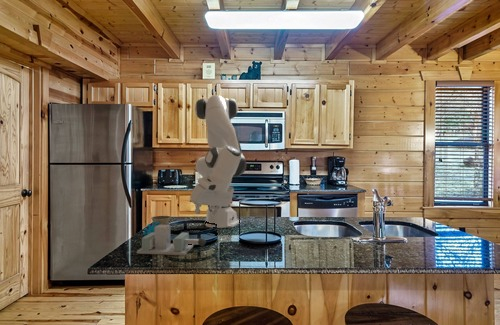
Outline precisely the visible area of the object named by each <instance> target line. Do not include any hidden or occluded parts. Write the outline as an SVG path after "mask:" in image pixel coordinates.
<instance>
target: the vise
mask: <svg viewBox="0 0 500 325" xmlns="http://www.w3.org/2000/svg"><path fill="white" fill-rule="evenodd" d="M144 236H145V235H144ZM144 236H143V237H142V238H141V247H140V248H139V249H137V250H136V254H140V255H141V254H142V255H169V256H186V255H187V254H188V253H189V252H190V251H191V250H192V249H193V247H194V245H187V246H186V247H185V248H184V249H183V250H182V251H174V249H173V243H171V246H170V247H169V248H167V249H155V232H151V233H150V234H148V235H147V234H146V236H145V237H144Z"/></svg>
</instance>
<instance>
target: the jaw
mask: <svg viewBox="0 0 500 325" xmlns="http://www.w3.org/2000/svg"><path fill="white" fill-rule="evenodd" d="M206 242H207V241H206V239H205V238H204V237H203V238H202V237H200V238H190V234H189V232H180V233H179V234H178V235H177V236H175V238H173V240H172V244H173V249H174V251H182V250H183V249H184V248H185V247H186V246H187V245H188V244H192V245H193V246H195V245H199V246H200V247H203V246H205V244H206Z"/></svg>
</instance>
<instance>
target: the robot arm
mask: <svg viewBox="0 0 500 325" xmlns="http://www.w3.org/2000/svg"><path fill="white" fill-rule="evenodd" d="M238 111H239V106H238V103H237V101H236V99H235V98H232V97H228V98H227V97H223V96H221V95H219V94H218V95H217V94H216V95H214V94H213V95H212V96H210V97H209V98H200V99H198V100H197V101H196V102H195V106H194V112H195V115H196V117H197V118H198V119H200V120H205V124H206V135H207V139H206V140H207V146H208V147H209V148H210V149H209V150H207V153H206V154H205V156H202V157H199V158H198V159H197V160H196V163H195V170H196V171H197V173H198V174H199V175H201V177H200V178H198V179H197V184H196V185H195V186H194V188H193V189H192V192H191V194H190V197H189V200H190V202H191V203H192V204H194V205H195V209H194V213H195V214H197V215H198V214H199V215H200V213H201V211H202V210H201V207H202V206H207V210H206V217H205V222H206V221H207V222H209V223H215V224H217V228H216V229H221V228H223V229H225V228H233V227H235V226H237V225H239V224H240V223H242V220H240V219H238V212H237V211H235V209H233V208H232V207H231V205H232V204H233V200H232V199H233V195H234V192H235V189H234V186H232V185H231V183H232V181H233V178H238V177H239V176H241V175H243V174H244V173H245V171H246V169H247V160H246V157H245V156H244V153H243V151H242V147H241V142H240V138H239V135H238V132H237V130H236V128H235V127H234V125H233V123H232V121H231V120H232V119H234V118H235V117H236V116H237V114H238ZM239 220H240V223H239ZM205 226H206V227H207V228H211V229H212V228H213V227H215V225H211V224H207V223H206V224H205Z"/></svg>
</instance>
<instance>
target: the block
mask: <svg viewBox="0 0 500 325" xmlns="http://www.w3.org/2000/svg"><path fill="white" fill-rule="evenodd" d="M171 239H172V238H171V224H169V225H158V226H156V227H155V249H167V248H169V247H170V246H171V244H172V243H171V242H172V241H171Z"/></svg>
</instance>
